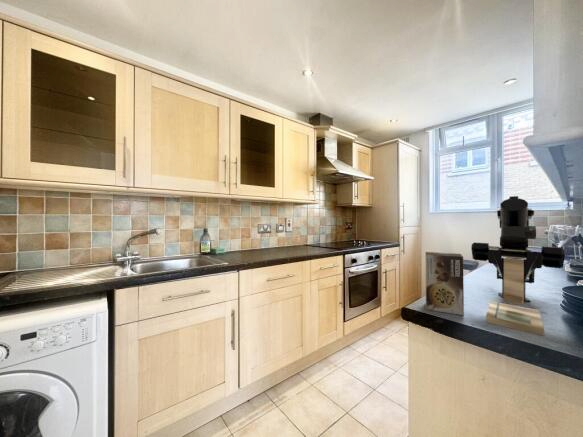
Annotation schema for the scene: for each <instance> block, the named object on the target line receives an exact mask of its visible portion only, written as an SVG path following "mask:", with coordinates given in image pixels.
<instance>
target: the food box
mask: <svg viewBox="0 0 583 437" xmlns="http://www.w3.org/2000/svg"><path fill="white" fill-rule="evenodd" d="M464 286H465V284H464V256H463V255H462V254H461V253H451V252H450V253H449V252H435V251H434V252H433V251H425V310H429V311H435V312H439V313H440V312H441V313H447V314H454V315H459V316H464V315H465V312H464V311H465V304H464V302H465V296H464V294H465V292H464V291H465V290H464Z"/></svg>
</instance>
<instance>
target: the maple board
mask: <svg viewBox="0 0 583 437" xmlns="http://www.w3.org/2000/svg"><path fill="white" fill-rule="evenodd" d="M488 305H489V306H488V309H487V312H486V315H485V321H486V323H490V324H493V325H497V326H502V327H505V328H510V329H514V330H517V331H518V330H519V331H522V332H527V333H530V334H535V335H536V334H537V335H540V336H543V337H545V328H544V324H543V321H542V320H543V319H542V318H541V314H540V310H539V309H536V308H534V309H533V308H530V307H522V306H518V305H514V304H508V303H502V302H497V301H492V300H490V301H489V304H488Z"/></svg>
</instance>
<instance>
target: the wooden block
mask: <svg viewBox="0 0 583 437" xmlns="http://www.w3.org/2000/svg"><path fill="white" fill-rule="evenodd" d="M503 301H504V302H506V303H512V304H517V305H524V303H525V302H524V260H521V259H510V258H504V298H503Z"/></svg>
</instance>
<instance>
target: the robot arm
mask: <svg viewBox="0 0 583 437" xmlns="http://www.w3.org/2000/svg"><path fill="white" fill-rule="evenodd" d="M508 197H509V198H507V199H504V200H503V201H501V202H500V205H499V206H500V207H499V208H497V212H496V214H497V216H496V218H497V220H499V229H500V236H499V246H497V245H490V243H489V242H473V243H472V244H471V255H472V259H473V260H475V261H482V262H487V261H488V264H490V265H491V264H492V265H493V266H494V267H495V268H496V279H497V280H501V287H502V288H501V292H498V293H497V295H498V296H500V297H501V298H502V299H504V258H510V259H521V260H524V303H525V302H526V303H531V302H532V301H531V300H530V299H528V298H527V297H526V294H527V292H526V291H527V290H526V286H527V285H526V283H527V284H534V283H535V274H536V272H535V271H536V269H542V268H543V267H545V268H550V269H551V268H552V269H563V268H564V265H565V264H564V263H565V258H566V251H565V249H564V248H563V247H559V246H557V247H556V246H543V245H542V246H541V251H532V249H528V248H529V240H536V238H537V225H536V226H535V225H529V224H530V220H531V219H532V217H533V216H534V215H535V210H533V209H532V208H531V207H529V203H528V201H527V200H525V199H522V198H519V196H518V195H514V196H513V195H512V196H508Z"/></svg>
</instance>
